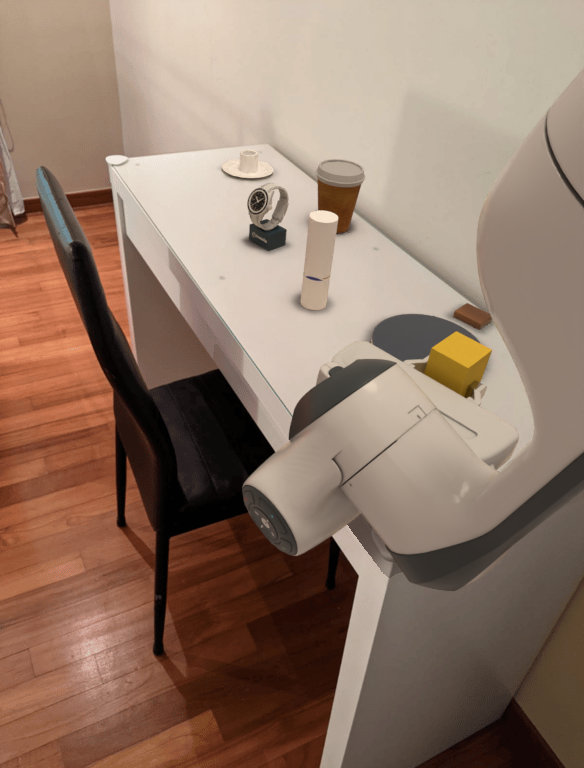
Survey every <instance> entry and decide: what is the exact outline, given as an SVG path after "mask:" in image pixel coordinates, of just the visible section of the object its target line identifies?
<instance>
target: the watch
mask: <svg viewBox="0 0 584 768" xmlns="http://www.w3.org/2000/svg"><path fill="white" fill-rule="evenodd" d="M275 190H278V192H279V198H278V200H277V203H276V205H275V208H274V209H273V206H272V205H273V197H274V196H275V195H274V194H275ZM289 205H290V204H289V193H288V191H287V190H286V188H284V187H282V186H281V185H279V184H277V183H274V182H267V183H264V184H261V185H260V186H259V187H256V188H254V189H253V190H252V191H251V192H250V194H249V195H248V197H247V203H246V206H247V210H248V216H249V219H250V221H251V223H249V227H248V228H249V231H248V241H249V242H252V243H254V244H255V245H257V246H259V247H261V248H262V249H264V250H265V251H267V252H270V251H272V250H276V249H279V248H282V247H284V246H286V243H287V242H286V241H287V228H284V227H283V226H281V225H280V224H281V223H282V222H283V220H284V218H285V216H286V214H287V211H288V208H289ZM272 209H273V212H272V215H271V218H270V219H268V218H265V219H264V217H265V215H266V214H268V213H269V212H270V211H272Z"/></svg>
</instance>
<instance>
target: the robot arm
mask: <svg viewBox="0 0 584 768" xmlns="http://www.w3.org/2000/svg"><path fill="white" fill-rule="evenodd" d="M481 207H482V208H481V209H480V213H479V217H478V222H477V228H476V229H477V230H476V243H475V244H476V245H475V253H476V254H475V255H476V264H477V265H476V266H477V274H478V280H479V281H478V282H479V286H480V289H481V290H480V291H481V294H482V297H483V300H484V303H485V306H486V308H487V311H488V313H489V314H490V316H491V318H492V322H493V324H494V326H495V328H496V329H497V332H498V334H499V335H500V337H501V339H502V341H503V343H504V345H505V347H506V350H507V351H508V352H509V355H510V356H511V359H512V361H513V363H514V366H515V368H516V370H517V372H518V375H519V378H520V380H521V382H522V385H523V388H524V390H525V393H526V397H527V399H528V403H529V408H530V410H531V415H532V419H533V435H532V438H531V440H529V442H528V443H527V444H526V445H525V446H524V447H523V448H522V449H521V450H520V451H519V452H518V453H517V454H516V455H515V456H513V454H514V452H515V450H516V448H517V445H518V443H519V441H520V435H519V431H518V428H517V427H516V425H513V424H512V423H510V422H508V421H506V420H505V419H503V418H501V417H499V416H498V415H495V414H494V413H492V412H491V411H489V410H487V409H486V408H484V407H482V406H481V404H482V399H483V398H484V396H485V393H486V391H487V389H488V386H487V385H486V384H484V383H481V382H478V381H476V380H475V381H473V383H471V384H470V385H468V388H467V392H466V394H465V397H463V396H461V395H459V394H458V393H456V392H454V391H452V390H451V389H449V388H447V387H445V386H444V385H442V384H440V383H439V382H437V381H435V380H433V379H432V378H430V377H428V376H426V375H425V374H424V372H425V369H426V365H427V362H428V358H429V355H428V356H427V357H426V358H424V359H423V360H422V359H416V360H405V361H404V362H402V361H400V360H399V359H397V358H395V357H393V356H392V355H390V354H388V353H386V352H385V351H383V350H381V349H379V348H378V347H376V346H374V345H373V344H371V342H369V341H364V340H363V341H361V340H360V341H359V340H357V341H354V342H351V343H350V344H348V345H347V346H345V347H344V348H342V349H341V350H340V351H338V352H337V353H335V355H334V356H333V357H332V358H331V361H329V362H326V363H324V364H322V365H320V367H319V370H318V373H317V377H316V382H315V385H314V386H313V387H312V388H310V389H309V390H308V391H307V392H306V393H304V395H302V396H301V397H300V399H299V400H298V401H297V402H296V405H295V407H294V409H293V411H292V412H293V413H292V416H291V421H290V425H289V430H288V442H286V443H284V445H283V446H281V447H280V448H279V449H277V450H276V451H275V452H274V453H272V455H270V456H269V457H268V458H267V459H266V460H265V461H263V463H261V464H260V465H259V466H258V467H257V468H256V469H255V470H254V471H253V472H252V473H251V474H250V475H249V476H248V478H247V479H245V481H244V482H243V484H242V488H241V492H242V499H243V503H244V506H245V508H246V510H247V511H248V515H249V516H250V518H251V519H252V521H253V523H254V524H255V525H256V527H257V528H258V529H259V531H260V532H261V533H262V534H263V535H264V537H265V538H266V539H267V540H268V541H269V543H270V544H271V545H273V546H274V547H276V548H277V550H279V551H280V552H282V553H285V554H287V555H288V556H292V557H298V556H301V555H303V554H305V553H306V552H308V551H310V550H312V549H313V548H315V547H317V546H318V545H320V544H321V543H323V542H324V541H325V542H326V540H328V539H329V538H331V537H333V536H334V535H335V534H336V533H338V532H339V531H341V530H342V529H343V528H345V527H346V526H347V525H349V524H350V523H351V522H353V521H354V520H355V519H356V518H357V517H358V516H360V515H361V516H362V517H363V518H364V520H365V521H366V522H367V524H368V525H369V526H370V528H372V530H373V531H374V532H375V533H376V534H377V536H378V537H379V538H380V540H381V541H382V542H383V544H384V545H385V548H386V550H387V551H388V553H389V554H390V556H391V557H392V559H393V560H394V562H395V563H396V565H397V566H398V567H399V569H400V570H401V572H402V574H403V575H404V577H405V578H406V579H407V581H408V582H409V583H411V584H414V585H417V586H420V587H424V588H428V589H431V590H437V591H446V592H456V591H458V590H460V589H462V588H465V587H467V586H470V585H471V584H472V585H473V584H474V583H475V582H477V581H478V580H480V579H482V578H484V577H485V576H486V575H487V574H488V573H490V572H491V571H492V570H493V569H495V568H496V567H497V565H498V564H499V563H500V562H501V561H502V560H503V559H504V558H505V557H506V555H507V554H508V553H509V551H510V550H511V548H513V546H514V545H516V544H517V543H518V542H519V541H521V540H522V539H523V538H525V537H526V536H527V535H528V534H529V533H531V532H532V531H533V530H535V529H536V528H537V527H539V526H540V525H541V524H542V523H544V522H545V521H546V520H548V519H549V518H550V517H551V516H553V515H554V514H556V513H557V512H558V511H559V510H561V509H562V508H563V507H564V506H566V505H568V503H569V502H571V501H572V500H573V499H574V498H577V496H579V495H580V494H581V493H582V492H584V67H582V68H581V69H580V71H579V72H578V73H577V74H576V76H575V77H574V78H573V79H572V80H571V81H570V82H569V84H567V86H566V87H565V88H564V90H563V91H562V92H561V93H560V94H559V95H558V97H557V98H556V99H555V100H554V101H553V102H552V104H551V106H549V108H548V109H546V111H545V112H544V113H543V114H542V116H541V117H540V118H539V119H538V121H537V122H536V123H535V124H534V126H533V127H532V128H531V130H530V131H529V132H528V133H527V134H526V136H525V137H524V138H523V140H522V141H521V142H520V143H519V145H518V146H517V148H516V149H515V150H514V152H513V153H512V155H511V156H510V157H509V159H508V160H507V162H506V163H505V164H504V166H503V168H502V169H501V171H500V173H499V174H498V175H497V177H496V179H495V181H494V182H493V184H492V186H491V188H490V189H489V191H488V193H487V194H486V198H485V200H484V202H483V203H482V206H481ZM512 456H513V458H512ZM511 458H512V459H511ZM510 459H511V460H510ZM509 460H510V461H509ZM507 462H508V463H507ZM506 463H507V464H506ZM505 464H506V465H505ZM504 465H505V466H504ZM502 466H504V467H503V468H501V467H502ZM500 468H501V470H500V471H499V469H500Z"/></svg>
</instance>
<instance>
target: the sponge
mask: <svg viewBox="0 0 584 768" xmlns="http://www.w3.org/2000/svg"><path fill="white" fill-rule="evenodd" d="M480 343H481V342H480ZM480 343H478V342H476V341H474V340H472V339H470V338H469V337H467V336H465V335H463V334H461V333H459V332H457V331H456V332H454V333H453V334H451V335H450V336H448V337H447V338H445V339H444V340H443V341H441V342H440V343H438V344H437V345H435V346H434V347H432V348H431V352H430V355H429V358H428V362H427V365H426V369H425V372H424V374H425V375H426V376H428V377H430V378H432V379H433V380H435V381H437V382H439V383H440V384H442V385H444V386H445V387H447V388H449V389H451V390H452V391H454V392H456V393H458V394H459V395H461V396H463V397H465V394H466V392H467V388H468V385H470V384H471V383H473V381H475V380H476V381H478V382H480V383H481V382H482V379H483V376H484V375H485V371H486V368H487V365H488V363H489V360H490V358H491V355H492V352H493V349H492V348H490V347H488V346H485V345H484V344H483V343H481V344H480Z"/></svg>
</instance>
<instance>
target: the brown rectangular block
mask: <svg viewBox="0 0 584 768" xmlns="http://www.w3.org/2000/svg"><path fill="white" fill-rule="evenodd" d="M452 317H453V318H455V319H457V320H458V321H460V322H462V323H464V324H466V325H468V326H470V327H472V328H474V329H476V330H478V331H480V330H482V329H483V328H485V327H486V326H487V325H489V324H490V323H492V322H493V320H492V318H491V316H490V314H489V312H487V311H485V310H483V309H481V308H479V307H477V306H474V305H473V304H471V303H469V302H466V303H465V304H463V305H461V306H460V307H458V308H457V309H455V310H454V312H453V316H452Z"/></svg>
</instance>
